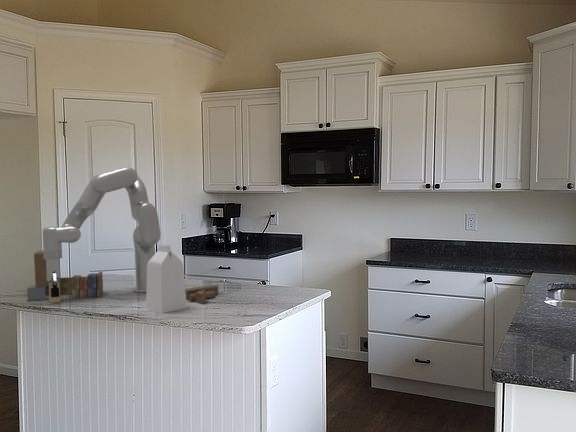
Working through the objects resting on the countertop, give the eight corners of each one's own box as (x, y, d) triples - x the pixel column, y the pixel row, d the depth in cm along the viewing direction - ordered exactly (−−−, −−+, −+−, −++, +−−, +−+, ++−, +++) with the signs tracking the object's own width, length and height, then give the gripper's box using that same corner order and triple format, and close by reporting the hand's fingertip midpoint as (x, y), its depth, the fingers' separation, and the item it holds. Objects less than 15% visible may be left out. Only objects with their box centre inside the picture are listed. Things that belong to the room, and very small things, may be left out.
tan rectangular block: (59, 299, 245) (58, 279, 245) (60, 301, 240) (59, 281, 239) (49, 300, 243) (48, 280, 243) (50, 302, 238) (49, 282, 238)
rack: (103, 292, 260) (102, 271, 259) (99, 297, 249) (99, 275, 248) (53, 295, 255) (52, 273, 255) (48, 300, 244) (47, 277, 244)
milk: (146, 308, 223) (143, 245, 222) (170, 303, 231) (168, 242, 230) (161, 313, 215) (159, 247, 213) (186, 307, 223) (184, 244, 221)
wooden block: (35, 295, 257) (33, 252, 255) (39, 291, 266) (37, 250, 265) (58, 293, 259) (56, 251, 258) (61, 289, 269) (59, 249, 268)
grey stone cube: (49, 297, 250) (48, 284, 250) (45, 300, 244) (45, 287, 244) (31, 298, 249) (30, 285, 248) (27, 301, 243) (27, 288, 242)
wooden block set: (180, 287, 241) (215, 282, 252) (180, 300, 241) (215, 294, 252) (199, 292, 228) (235, 286, 239) (200, 305, 228) (236, 299, 239)
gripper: (42, 253, 247) (44, 293, 248) (44, 257, 231) (46, 300, 232) (60, 252, 250) (62, 291, 251) (63, 256, 234) (65, 298, 235)
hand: (54, 295), depth 242 cm, fingers closed on tan rectangular block, 6 cm apart
